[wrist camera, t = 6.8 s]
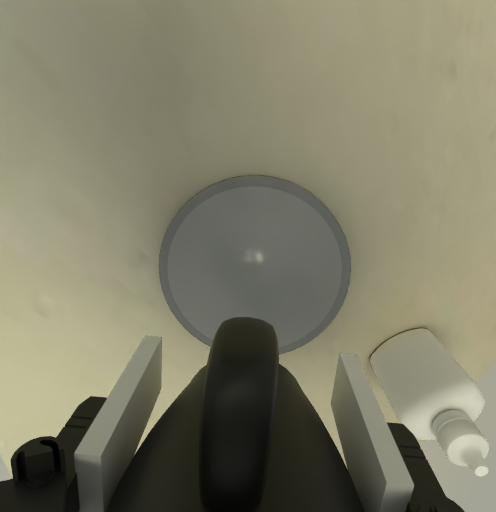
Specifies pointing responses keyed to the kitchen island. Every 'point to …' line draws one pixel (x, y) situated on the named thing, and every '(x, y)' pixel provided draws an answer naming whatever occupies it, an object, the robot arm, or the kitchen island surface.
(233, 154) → the kitchen island surface
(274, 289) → the round gray plate
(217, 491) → the mug
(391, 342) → the eye dropper bottle
